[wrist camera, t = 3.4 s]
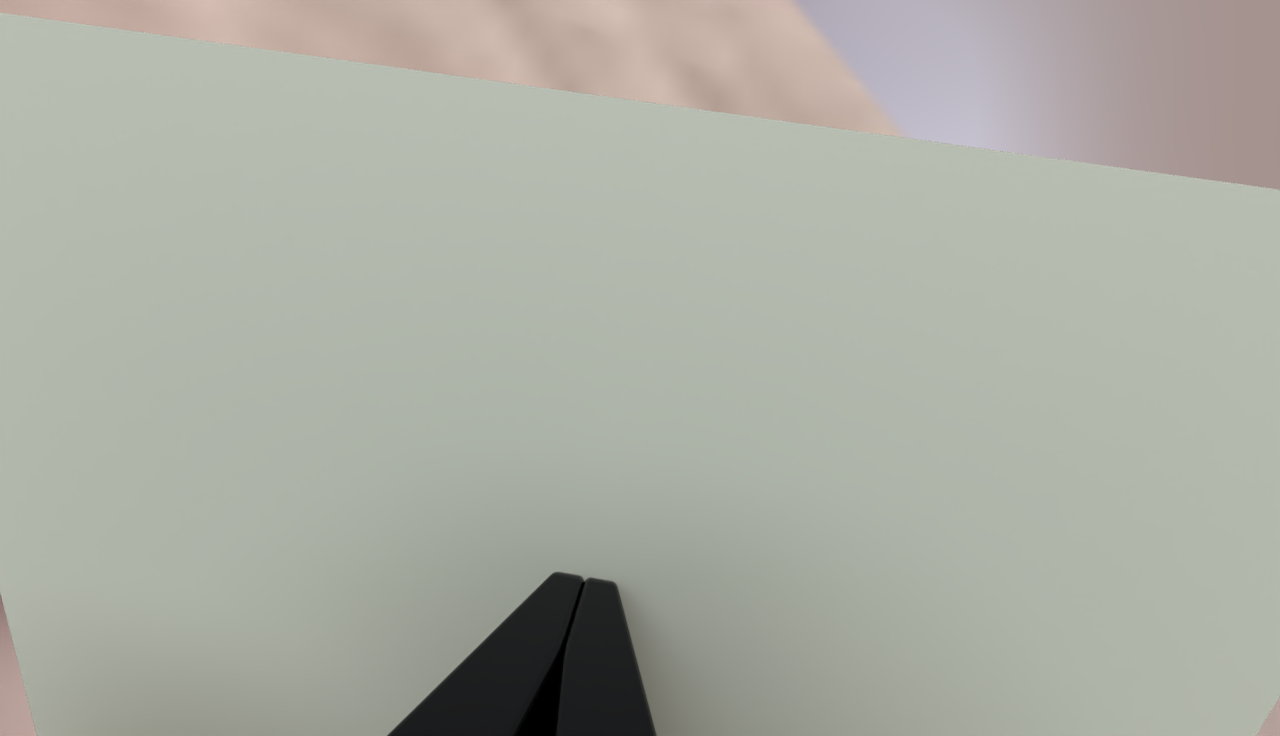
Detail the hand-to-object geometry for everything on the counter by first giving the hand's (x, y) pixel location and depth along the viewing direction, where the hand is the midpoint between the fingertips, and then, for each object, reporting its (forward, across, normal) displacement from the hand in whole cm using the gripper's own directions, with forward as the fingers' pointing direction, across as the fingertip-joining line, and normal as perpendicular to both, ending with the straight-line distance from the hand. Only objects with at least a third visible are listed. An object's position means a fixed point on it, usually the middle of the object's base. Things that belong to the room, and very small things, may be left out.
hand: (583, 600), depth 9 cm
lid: (+1, 0, 0) cm, 1 cm away
